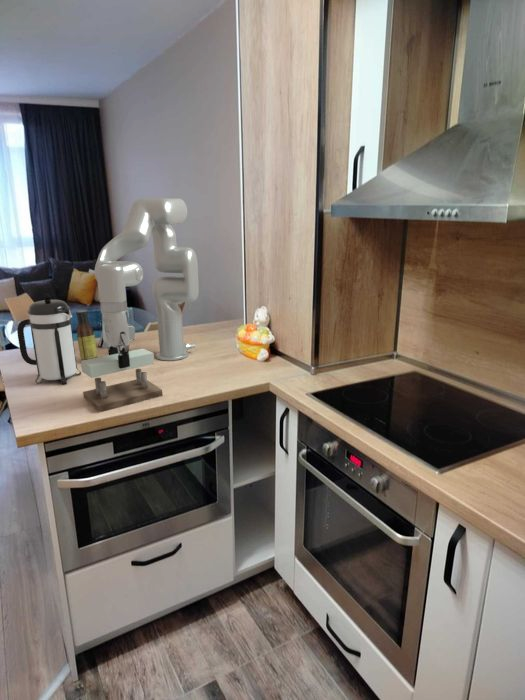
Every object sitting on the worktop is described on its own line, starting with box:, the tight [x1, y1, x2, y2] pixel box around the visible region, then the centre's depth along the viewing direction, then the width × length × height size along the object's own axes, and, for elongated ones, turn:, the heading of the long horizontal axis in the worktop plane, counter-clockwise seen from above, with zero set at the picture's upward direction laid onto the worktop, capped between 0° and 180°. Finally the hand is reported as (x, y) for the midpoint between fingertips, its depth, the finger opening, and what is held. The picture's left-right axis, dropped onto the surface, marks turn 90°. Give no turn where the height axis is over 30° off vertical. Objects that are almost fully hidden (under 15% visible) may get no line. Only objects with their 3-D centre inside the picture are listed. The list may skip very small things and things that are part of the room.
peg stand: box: [82, 368, 163, 413], centre depth 145 cm, size 20×14×7 cm
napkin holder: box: [96, 323, 136, 349], centre depth 203 cm, size 17×5×10 cm, turn 145°
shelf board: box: [80, 348, 155, 379], centre depth 142 cm, size 20×7×4 cm, turn 131°
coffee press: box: [16, 292, 82, 386], centre depth 157 cm, size 17×16×30 cm
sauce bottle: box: [75, 309, 99, 361], centre depth 178 cm, size 6×6×20 cm
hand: (119, 363), depth 142 cm, fingers closed on shelf board, 7 cm apart
